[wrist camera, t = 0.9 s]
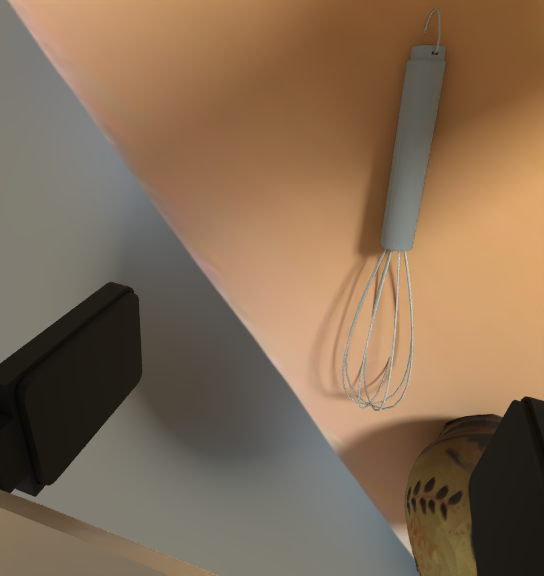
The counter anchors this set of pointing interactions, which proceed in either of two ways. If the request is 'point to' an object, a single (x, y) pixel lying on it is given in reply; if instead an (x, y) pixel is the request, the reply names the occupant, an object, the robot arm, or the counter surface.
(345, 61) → the counter surface
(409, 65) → the kitchen whisk
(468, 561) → the ceramic jug
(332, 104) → the counter surface
